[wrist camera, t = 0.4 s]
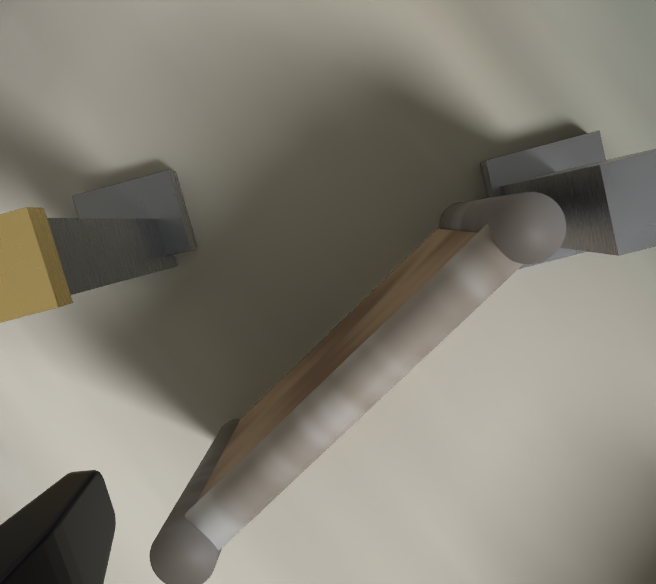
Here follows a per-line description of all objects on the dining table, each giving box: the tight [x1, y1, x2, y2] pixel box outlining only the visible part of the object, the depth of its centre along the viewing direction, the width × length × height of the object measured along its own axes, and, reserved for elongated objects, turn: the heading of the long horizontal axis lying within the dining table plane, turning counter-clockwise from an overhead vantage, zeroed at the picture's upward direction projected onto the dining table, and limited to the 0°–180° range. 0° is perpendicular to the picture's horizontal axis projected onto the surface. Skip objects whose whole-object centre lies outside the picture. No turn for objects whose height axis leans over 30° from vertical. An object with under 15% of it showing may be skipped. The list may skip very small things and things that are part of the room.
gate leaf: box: [150, 192, 566, 584], centre depth 20 cm, size 14×2×9 cm, turn 135°
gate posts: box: [0, 131, 656, 323], centre depth 20 cm, size 20×7×11 cm, turn 105°
